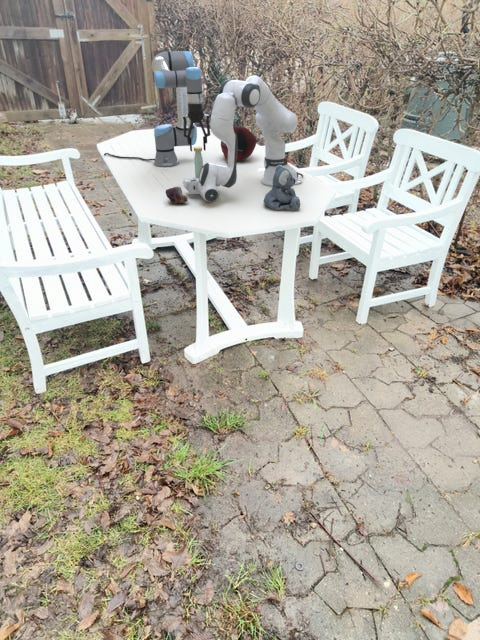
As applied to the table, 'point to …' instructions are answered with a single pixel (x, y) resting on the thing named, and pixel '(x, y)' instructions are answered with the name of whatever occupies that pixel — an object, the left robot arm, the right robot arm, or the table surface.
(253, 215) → the table surface
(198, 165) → the bottle
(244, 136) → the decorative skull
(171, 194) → the rock
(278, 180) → the koala plush
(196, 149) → the cap
